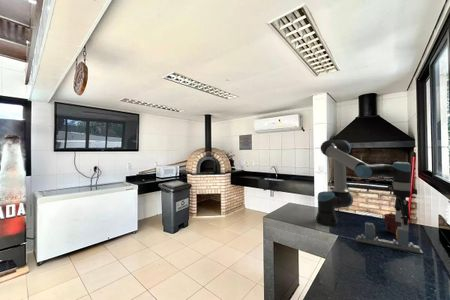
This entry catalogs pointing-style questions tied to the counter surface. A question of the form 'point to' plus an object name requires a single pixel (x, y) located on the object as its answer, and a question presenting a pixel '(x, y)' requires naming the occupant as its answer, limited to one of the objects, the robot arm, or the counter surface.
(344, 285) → the counter surface
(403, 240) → the pale blue-grey block
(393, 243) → the rail
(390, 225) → the mechanical component
